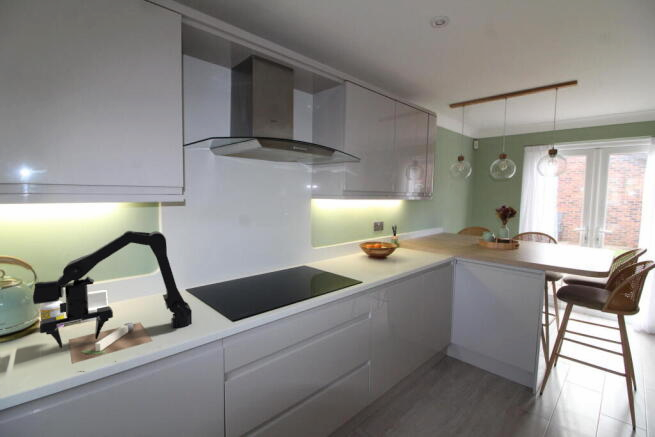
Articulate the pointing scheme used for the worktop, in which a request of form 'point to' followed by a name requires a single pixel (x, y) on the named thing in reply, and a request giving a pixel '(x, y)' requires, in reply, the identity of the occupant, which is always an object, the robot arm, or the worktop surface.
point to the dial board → (86, 349)
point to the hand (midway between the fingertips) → (79, 342)
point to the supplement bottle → (51, 311)
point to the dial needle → (113, 336)
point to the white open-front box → (96, 302)
